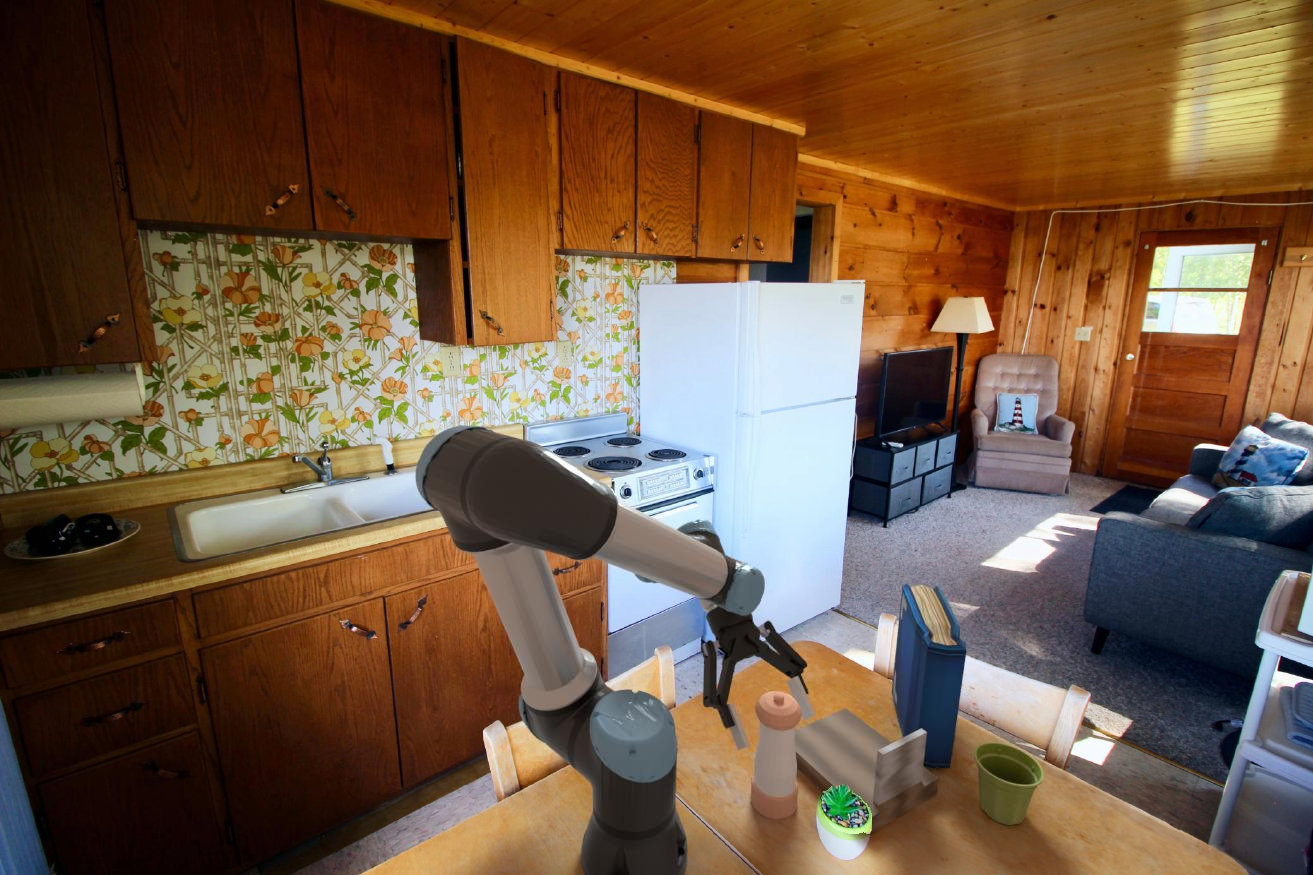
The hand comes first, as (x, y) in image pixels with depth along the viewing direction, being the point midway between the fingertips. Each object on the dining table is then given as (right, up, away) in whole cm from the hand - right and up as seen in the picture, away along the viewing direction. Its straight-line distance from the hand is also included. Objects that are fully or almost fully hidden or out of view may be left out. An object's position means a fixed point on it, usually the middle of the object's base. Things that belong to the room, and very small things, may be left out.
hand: (778, 732), depth 97 cm
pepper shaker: (-1, -11, +1) cm, 12 cm away
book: (+30, -8, +16) cm, 35 cm away
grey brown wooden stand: (+14, -10, +7) cm, 19 cm away
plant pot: (+35, -12, -1) cm, 37 cm away
